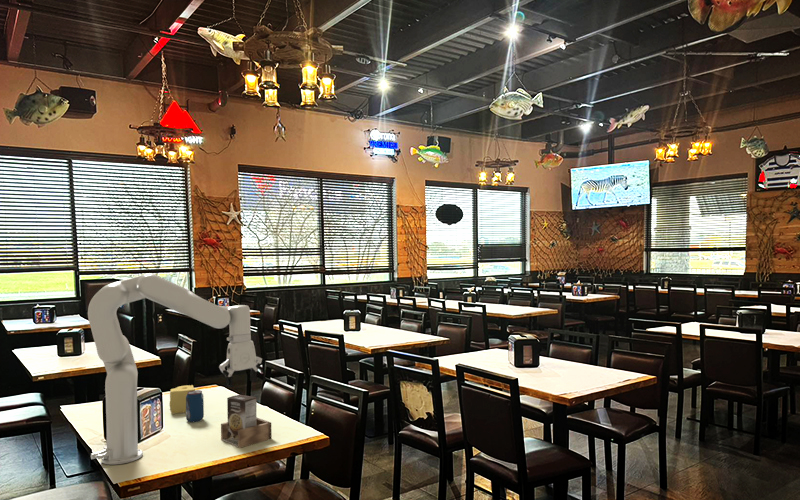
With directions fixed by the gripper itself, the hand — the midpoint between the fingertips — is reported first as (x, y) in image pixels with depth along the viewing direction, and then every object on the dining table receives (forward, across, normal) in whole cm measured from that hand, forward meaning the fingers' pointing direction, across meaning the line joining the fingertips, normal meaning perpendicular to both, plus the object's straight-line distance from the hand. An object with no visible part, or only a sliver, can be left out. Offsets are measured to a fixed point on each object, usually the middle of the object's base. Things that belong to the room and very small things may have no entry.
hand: (241, 384), depth 203 cm
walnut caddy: (+21, +1, 0) cm, 21 cm away
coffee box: (+21, 0, 0) cm, 21 cm away
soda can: (+21, 0, +38) cm, 44 cm away
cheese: (+21, +4, +58) cm, 62 cm away
